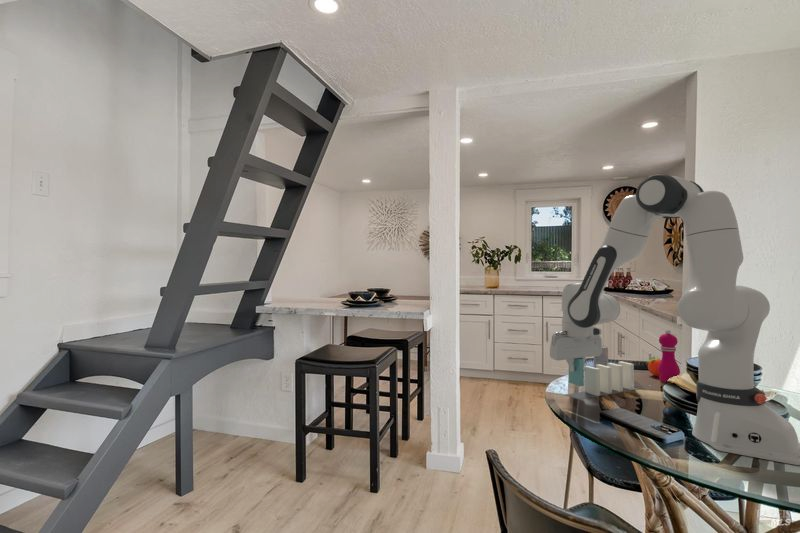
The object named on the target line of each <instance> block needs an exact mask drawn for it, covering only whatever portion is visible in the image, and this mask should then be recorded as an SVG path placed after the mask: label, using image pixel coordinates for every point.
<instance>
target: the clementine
mask: <svg viewBox="0 0 800 533" xmlns="http://www.w3.org/2000/svg"><path fill="white" fill-rule="evenodd" d="M660 362H661V359H660V358H652V359H650V360H648V361H647V362H646V364H647V369H648V372H649V373H650V374H651V375H653V376H654V377H659V376H661V374H660V373H659V372H658V365H659V363H660Z"/></svg>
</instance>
